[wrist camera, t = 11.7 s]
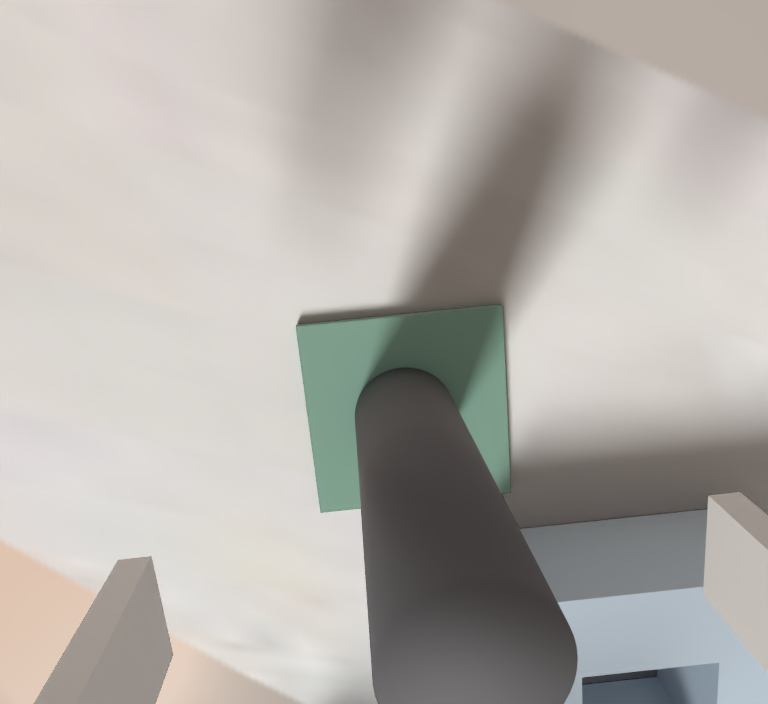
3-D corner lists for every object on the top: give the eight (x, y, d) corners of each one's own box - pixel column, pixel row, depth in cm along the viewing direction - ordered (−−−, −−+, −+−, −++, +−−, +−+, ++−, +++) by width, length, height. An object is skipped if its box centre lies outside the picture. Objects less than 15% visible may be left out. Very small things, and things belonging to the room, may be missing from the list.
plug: (350, 372, 25) (363, 593, 12) (451, 362, 26) (576, 568, 12) (359, 466, 26) (381, 766, 13) (456, 455, 27) (578, 740, 13)
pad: (296, 324, 25) (295, 326, 25) (500, 304, 25) (502, 306, 25) (321, 507, 27) (320, 512, 27) (508, 488, 28) (510, 492, 27)
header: (464, 534, 28) (487, 609, 23) (738, 505, 28) (816, 574, 23) (479, 753, 31) (501, 859, 27) (724, 726, 32) (791, 826, 27)
